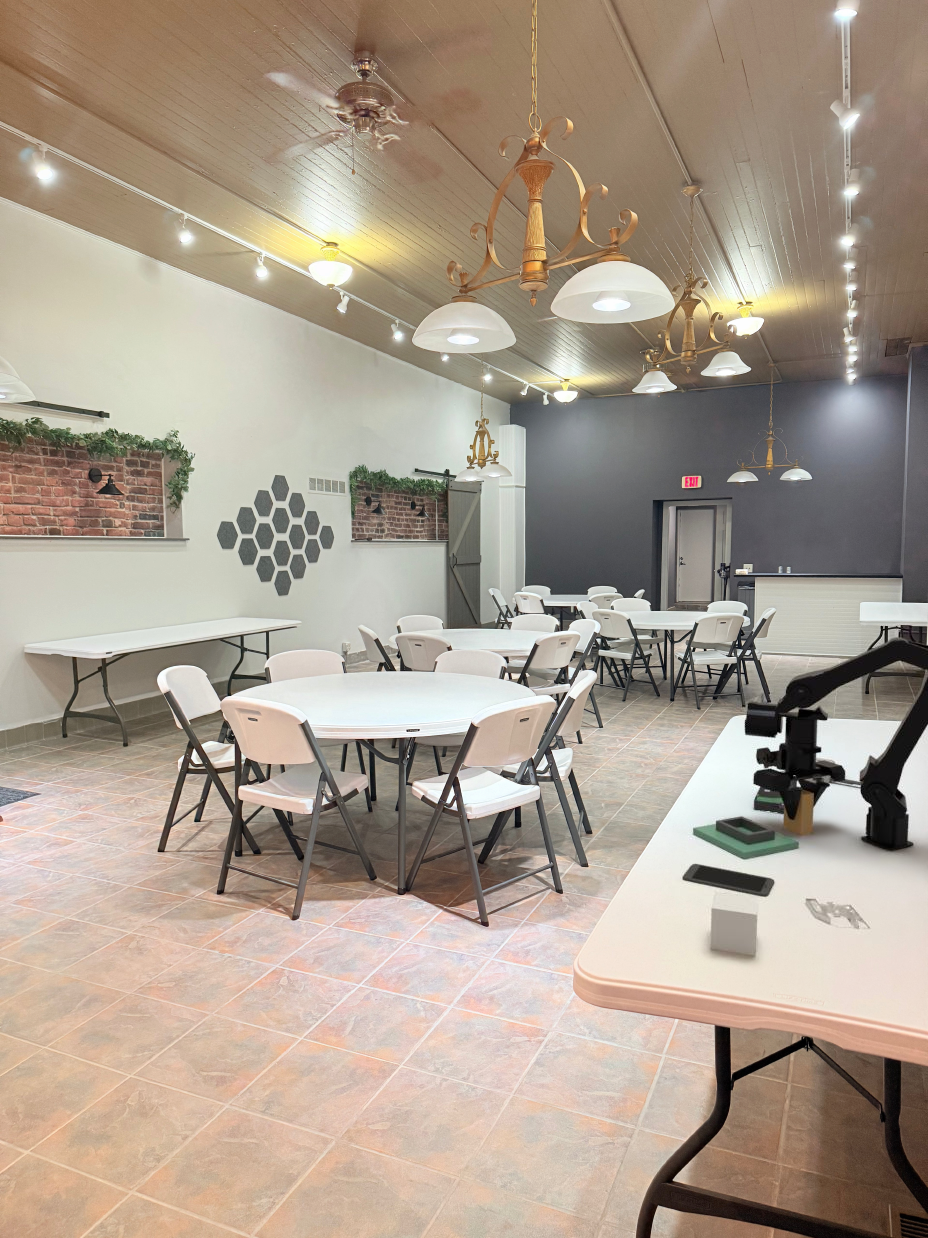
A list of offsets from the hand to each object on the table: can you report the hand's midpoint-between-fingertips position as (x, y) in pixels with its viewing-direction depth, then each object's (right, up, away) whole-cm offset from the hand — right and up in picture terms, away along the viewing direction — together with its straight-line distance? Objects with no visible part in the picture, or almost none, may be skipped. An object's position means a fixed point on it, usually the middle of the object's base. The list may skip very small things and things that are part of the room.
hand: (798, 818), depth 160 cm
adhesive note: (-27, -7, -44) cm, 53 cm away
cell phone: (-21, -5, -23) cm, 32 cm away
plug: (0, -3, 0) cm, 2 cm away
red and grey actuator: (+21, 0, +36) cm, 42 cm away
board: (-12, -3, -5) cm, 14 cm away
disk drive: (+4, -2, +17) cm, 18 cm away
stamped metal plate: (-9, -7, -36) cm, 38 cm away
